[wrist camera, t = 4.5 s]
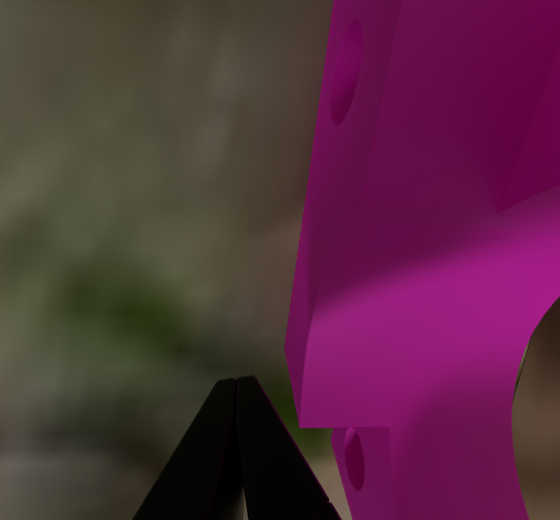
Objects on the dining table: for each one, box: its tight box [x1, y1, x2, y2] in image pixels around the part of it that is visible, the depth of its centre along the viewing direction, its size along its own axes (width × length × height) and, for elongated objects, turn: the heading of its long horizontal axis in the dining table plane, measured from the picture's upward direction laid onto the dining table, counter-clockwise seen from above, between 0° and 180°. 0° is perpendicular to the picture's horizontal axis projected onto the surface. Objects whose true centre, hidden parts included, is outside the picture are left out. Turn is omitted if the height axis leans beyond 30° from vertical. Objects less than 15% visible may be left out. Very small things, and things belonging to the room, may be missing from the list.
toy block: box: [284, 0, 560, 520], centre depth 8 cm, size 15×6×8 cm, turn 173°
